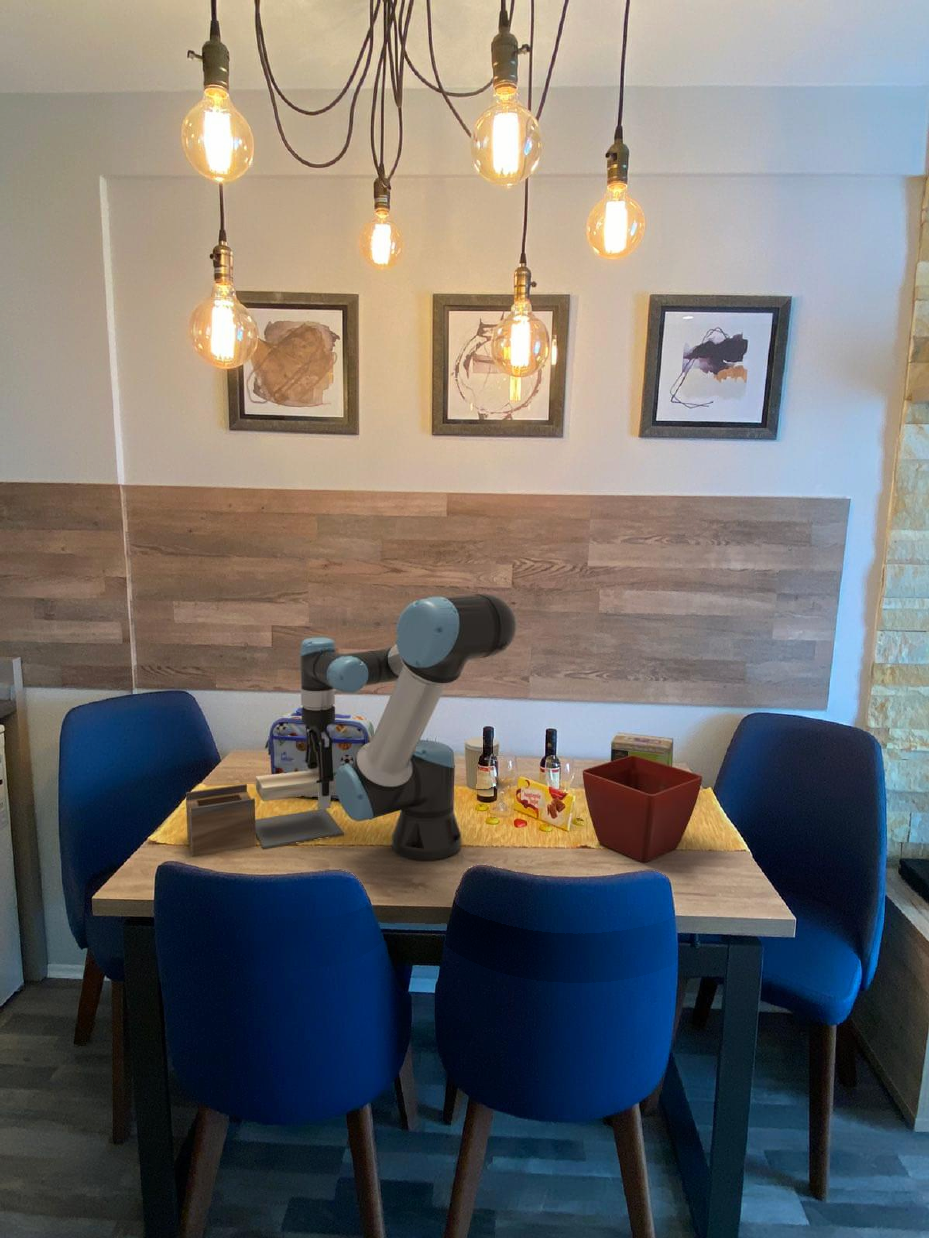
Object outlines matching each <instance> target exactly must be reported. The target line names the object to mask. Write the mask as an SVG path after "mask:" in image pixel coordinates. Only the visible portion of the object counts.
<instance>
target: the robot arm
mask: <svg viewBox="0 0 929 1238" xmlns="http://www.w3.org/2000/svg"><path fill="white" fill-rule="evenodd" d="M516 621H517V620H516V617H515V615H514V612H513V610H512V609H511V607H510V606H509V605H508V604H507V602H505V601H504V600H503V599H501V598H499V597H497V596H496V595H495V596H494V595H491V594H486V593H478V594H477V593H476V594H468V595H456V596H447V597H444V596H429V597H427V598H421V599H418V600H415V601H413V602H411V603H410V604H408V605H407V606H406V607H405V608H404V609H403V611H402V613H401V614H400V616H399V618H398V621H397V624H396V628H395V634H396V635H397V637H396V638H395V643H396V644H394V645H391V646H390V647H389V646H388V647H387V648H386V647H385V648H381V649H376V650H375V649H374V650H366V651H357V652H356V651H355V652H348V653H339V652H336V651H337V650H336V647H335V646H336V644H335V641H334V640H333V638H328V637H309V638H305V639H304V640H302V642H301V644H300V656H299V659H300V683H301V686H300V705H301V706H302V707H301V708H302V709H301V710H302V723H303V724H304V725H306V726H305V727H306V753H305V762H306V763H307V767H308V768H309V769H308V771H309V770H318V773H319V780H317V781H316V783H318V794H317V795H309V797H308V798H312V797H311V796H318V798H317V810H318V809H319V810H321V809H326V810H327V809H331V807H332V805H331V802H332V801H331V799H332V798H331V787H330V781H333V780H334V777H333V758H332V741H333V740H332V737H330V736H329V731H327V726H328V725H330V724H333V723H334V722H335V714H336V707H335V706H334V705H335V703H336V695H337V693H338V692H342V693H348V694H349V693H350V694H352V693H353V694H354V693H357V692H359V691H360V690H361V689H363V688H365V687H367V686H371V685H372V686H373V685H377V684H383V683H391V682H395V685H394V687H393V690H392V691H391V694H390V696H389V698H388V701H387V703H386V705H385V708H384V710H383V713H382V715H381V717H380V719H379V722H378V724H377V726H376V728H375V730H374V736H373V738H372V740H371V742H370V743H367V744H365V745H364V746H362V747H361V749H360V750H359V752H358V754H357V756H356V758H355V761H354V762H353V763H352V764H345V765H343V766H341V767H340V768H339V769H338V771H337V773H336V790H337V794H338V798H337V799H338V800H339V803H340V805H341V807H342V810H343V811H344V813H345V814H346V815H347V817H349V818H350V819H351V820H353V821H356V822H363V821H367V820H369V821H371V820H373V819H377V818H379V817H384V816H385V815H390V814H392V813H396V812H398V811H400V812H399V815H398V818H397V821H396V824H395V827H394V830H393V832H392V835H391V836H392V837H391V842H392V843H391V846H392V849H393V851H394V852H395V853H396V854H398V855H399V856H401V857H403V858H407V859H411V860H415V861H435V860H443V859H446V858H449V857H451V856H454V855H455V854H456V853H458V852H459V851H460V849H461V848H462V847H461V846H462V833H461V831H460V828H459V824H458V821H457V818H456V815H455V810H454V806H455V772H456V771H455V769H456V765H455V763H456V762H455V752H454V750H453V748H452V747H451V746H449V745H447V744H446V743H443V742H439V741H434V740H428V739H421V738H422V736H423V734H424V732H425V729H426V728H427V725H428V723H429V721H430V720H431V717H432V716H433V714H434V711H435V709H436V707H437V705H438V702H440V701H439V700H440V698H441V696H442V695H443V692H444V691H445V688H446V686H447V685H450V684H452V683H455V682H456V681H458V679H459V677H461V674H462V672H463V670H464V668H465V666H466V664H467V662H469V661H471V660H472V661H473V660H478V659H484V658H489V657H494V656H496V655H499V654H501V653H503V652H504V651H505V650H506V649H507V648H508V647H509V646H511V643H513V640H514V638H515V636H516V631H517V623H516ZM317 767H318V768H317Z"/></svg>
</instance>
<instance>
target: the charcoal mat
mask: <svg viewBox="0 0 929 1238" xmlns="http://www.w3.org/2000/svg"><path fill="white" fill-rule="evenodd" d="M255 828H256V839H257V841H258V843H259V844H260V846H261V848H262V850H267V849H272V848H277V847H285V846H288V845H289V844H290V845H294V844H293V843H295V844H297V843H296V842H301V843H305V842H304V841H306V842H311V841H310V840H312V841H315V840H314V839H318V838H323V839H327V838H326V837H329V838H332V837H331V836H334V837H338V836H337V835H340V836H344V835H345V833H344V831H343V829H342V828H341V827H340V826H339V824H338V822H336V820H335V819H334V818H333V816H332V815H331V814H330V812H328V810H327V809H321V810H319V809H318V808H317V809H311V810H306V811H300V812H295V813H288V814H287V813H286V814H281V815H276V816H268V817H263V818H257V819H256V818H255ZM318 840H319V839H318Z"/></svg>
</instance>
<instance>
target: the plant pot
mask: <svg viewBox="0 0 929 1238" xmlns="http://www.w3.org/2000/svg"><path fill="white" fill-rule="evenodd" d="M582 781H583V787H584V794H585V799H586V804H587V809H588V812H589V815H590V820H591V824H592V826H593V830H594V832H595V833H594V834H595V836H596V838H597V841H598V843H599V844H600V845H602V846H604V847H607V848H608V849H611V850H614V851H616V852H618V853H621V854H623V855H625V856H627V857H630V858H632V859H634V860H637V861H639V862H642V863H647V862H649V861H651V860H653V859H656V858H658V857H660V856H663V855H664V854H667V853H669V852H672V851H673V850H675V849H677V848H678V846H679V844H680V843H681V841H682V839H683V836H684V834H685V832H686V829H687V827H688V825H689V822H690V820H691V818H692V815H693V812H694V810H695V806H696V804H697V800H698V798H699V793H700V789H701V786H702V782H703V776H702V775H700V774H697V773H694V772H690V771H688V770H684V769H681V768H678V767H675V766H673V765H672V766H669V765H665V764H662V763H659V762H655V761H652V760H649V759H646V758H642V757H639V756H634V755H631V756H628V757H624V758H621V759H618V760H614V761H611V760H610V761H607V762H605V763H601V764H598V765H594V766H591V767H588V768H586V769H583V770H582Z"/></svg>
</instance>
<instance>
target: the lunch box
mask: <svg viewBox="0 0 929 1238" xmlns="http://www.w3.org/2000/svg"><path fill="white" fill-rule="evenodd" d="M302 708H303V707H298V708H297V709H296V711H295V712H290V713H286V714H284V715H282V716H281V718H279V719H277V720H275V721H274V722H273V723H272V725H271V727H270V730H269V736H267V738H268V739H267V740H266V743H265V744H264V749H267V752H268V753H267V754H268V756H270V758H269V759H270V769H271V770H270V771H271V772H270V773H271V774H270V775H273V774H282V773H291V772H300V771H308V769H309V768H308V767H307V763H306V762H305V753H306V727H305V726H306V725H304V724H303V723H302V710H301V709H302ZM327 731H329V736H330V737H332V740H333V741H332V758H333V777H334V792H333V793H331V799H339V798H338V794H337V790H336V773H337V771H338V769H339V768H340V767H341V766H343V765H345V764H352V763H353V762H354V761H355V758H356V756H357V754H358V752H359V750H360V749H361V747H362V746H364V745H365V744H367V743H370V742H371V740H372V738H373V736H374V733H375V728H374V725H373V723H372V721H370V720H369V719H368V718H366V717H364V716H363V717H362V716H358V715H351V714H339V713H335V722H334V723H333V724H330V725H328V726H327ZM317 768H318V767H317ZM312 797H318V796H311V797H309V796H305V797H304V798H312Z"/></svg>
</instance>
